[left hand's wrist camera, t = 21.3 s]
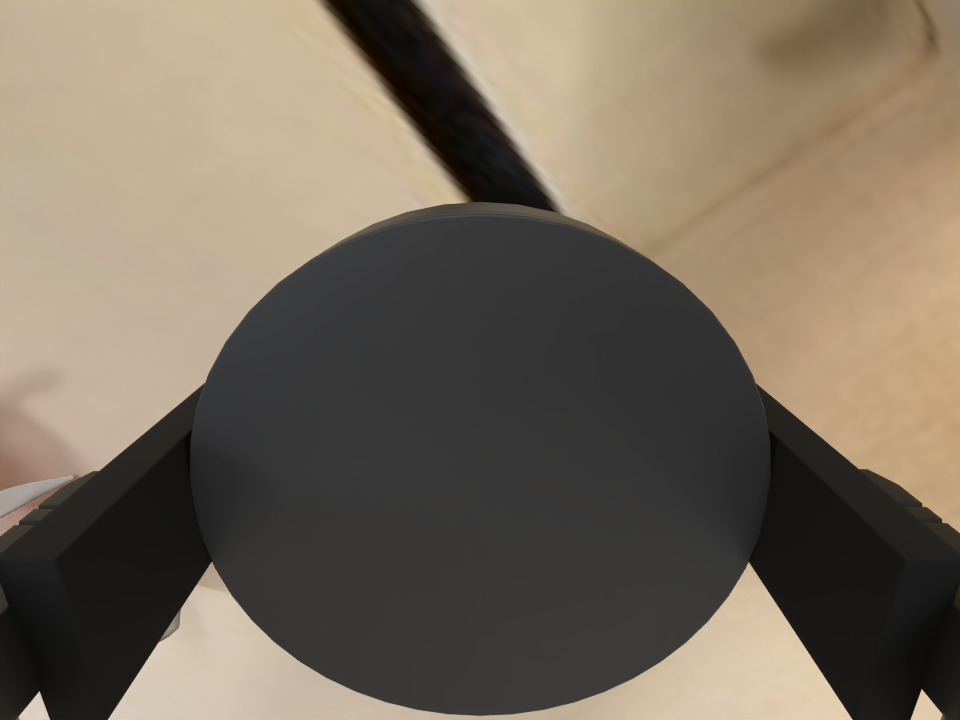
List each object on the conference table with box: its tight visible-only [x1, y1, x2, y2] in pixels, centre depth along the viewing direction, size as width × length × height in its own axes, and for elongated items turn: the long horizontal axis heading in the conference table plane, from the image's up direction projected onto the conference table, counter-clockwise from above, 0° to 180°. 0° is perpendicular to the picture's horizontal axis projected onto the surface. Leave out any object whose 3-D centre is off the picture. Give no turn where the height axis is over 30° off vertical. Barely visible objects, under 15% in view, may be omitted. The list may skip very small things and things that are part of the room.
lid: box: [189, 202, 771, 716], centre depth 11 cm, size 10×10×2 cm
